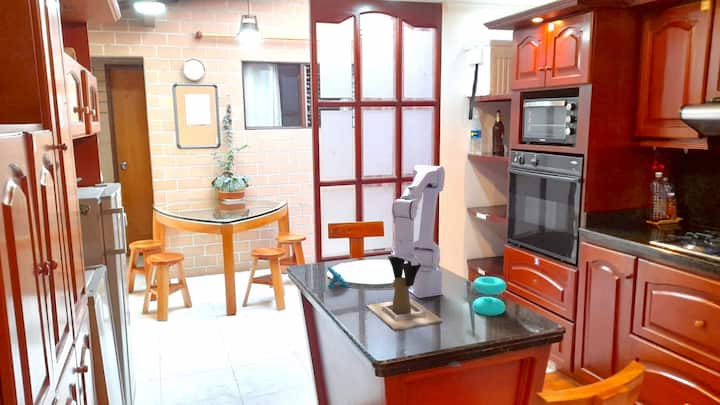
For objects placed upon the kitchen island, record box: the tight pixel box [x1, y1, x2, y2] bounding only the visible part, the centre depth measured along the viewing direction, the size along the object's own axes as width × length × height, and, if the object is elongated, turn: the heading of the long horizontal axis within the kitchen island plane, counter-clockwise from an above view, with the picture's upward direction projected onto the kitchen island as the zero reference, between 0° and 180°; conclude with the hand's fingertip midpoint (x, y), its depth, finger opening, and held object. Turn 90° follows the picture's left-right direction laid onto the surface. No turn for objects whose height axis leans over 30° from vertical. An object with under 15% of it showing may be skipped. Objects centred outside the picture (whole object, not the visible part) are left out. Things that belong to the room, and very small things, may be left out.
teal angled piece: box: [327, 266, 350, 289], centre depth 186 cm, size 11×6×10 cm
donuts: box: [472, 276, 507, 317], centre depth 163 cm, size 10×10×10 cm
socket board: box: [366, 297, 444, 331], centre depth 161 cm, size 16×20×2 cm
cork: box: [392, 276, 411, 315], centre depth 160 cm, size 6×6×11 cm
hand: (403, 281), depth 159 cm, fingers open, 7 cm apart
